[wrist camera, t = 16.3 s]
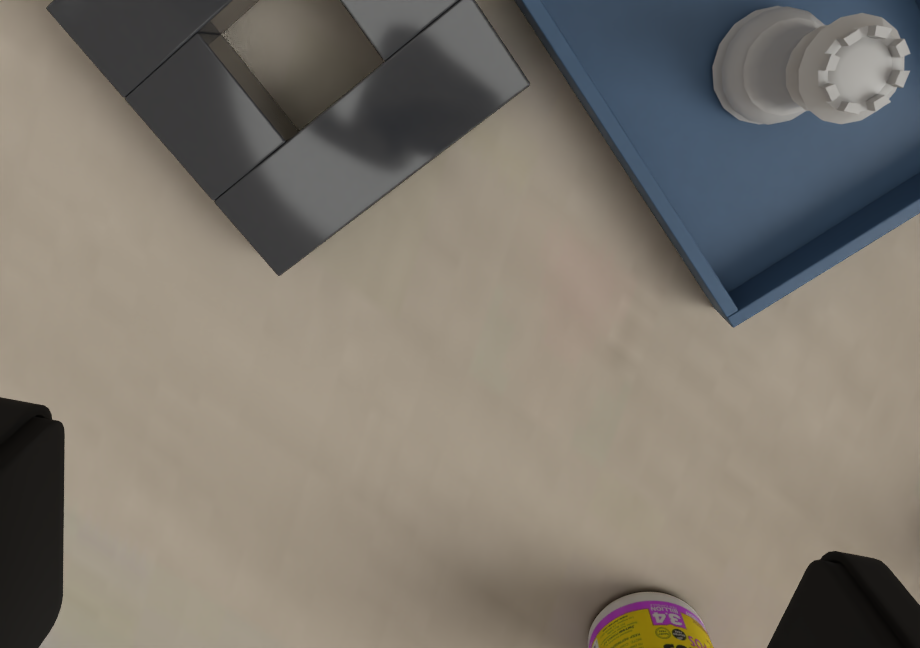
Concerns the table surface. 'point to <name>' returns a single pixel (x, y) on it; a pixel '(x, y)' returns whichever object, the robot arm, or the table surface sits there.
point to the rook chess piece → (808, 66)
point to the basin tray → (737, 142)
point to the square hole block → (271, 132)
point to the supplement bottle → (648, 624)
